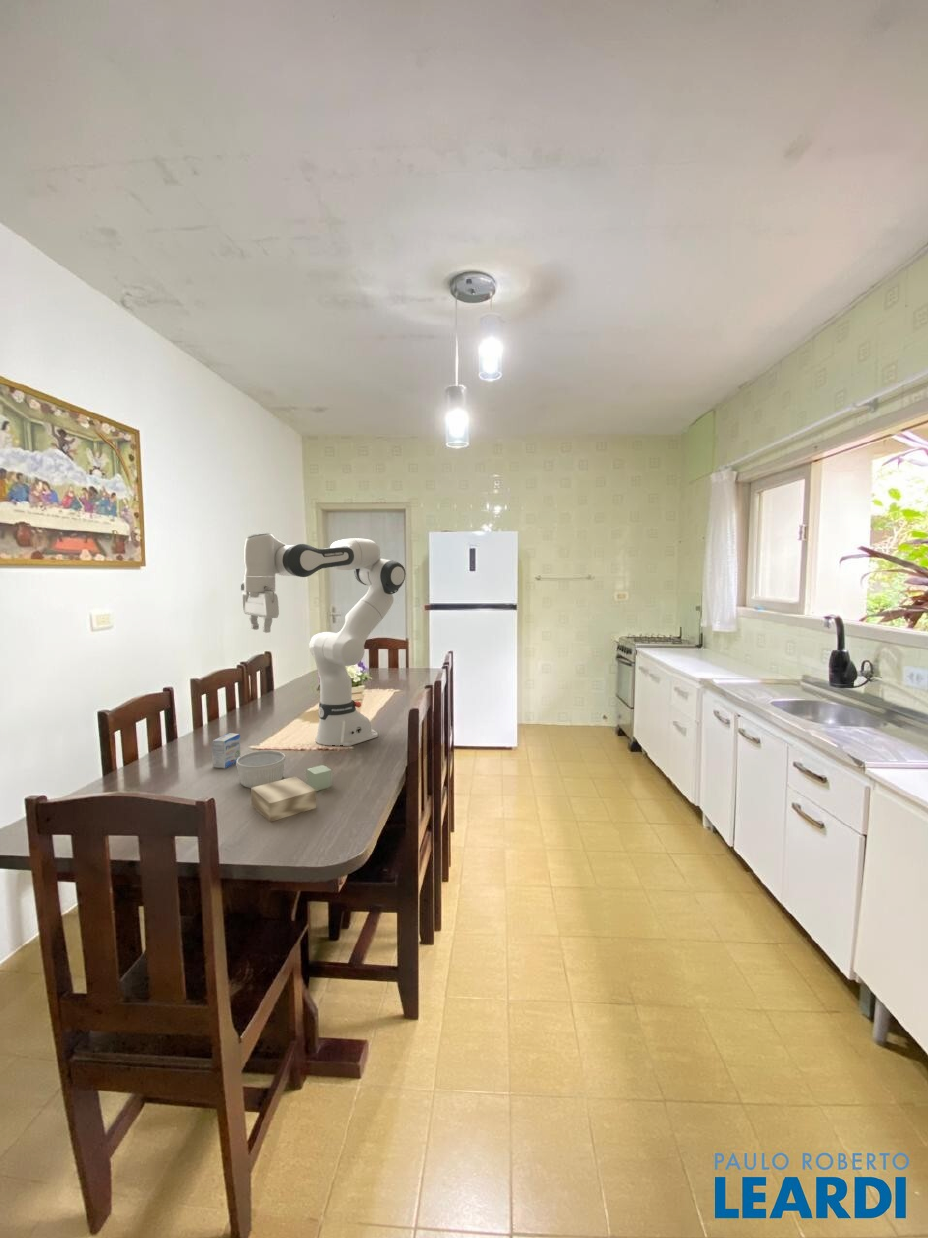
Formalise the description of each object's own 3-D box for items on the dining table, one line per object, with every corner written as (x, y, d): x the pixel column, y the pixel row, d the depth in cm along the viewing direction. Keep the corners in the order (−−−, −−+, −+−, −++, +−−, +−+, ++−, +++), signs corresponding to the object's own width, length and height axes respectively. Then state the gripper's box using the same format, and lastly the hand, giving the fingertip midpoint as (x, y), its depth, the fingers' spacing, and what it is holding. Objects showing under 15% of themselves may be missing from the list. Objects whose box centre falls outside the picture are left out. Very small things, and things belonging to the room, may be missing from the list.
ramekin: (255, 794, 140) (255, 769, 140) (226, 783, 147) (226, 759, 147) (294, 779, 152) (294, 756, 151) (266, 769, 159) (265, 747, 158)
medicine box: (224, 769, 158) (224, 741, 157) (211, 767, 159) (211, 740, 158) (240, 760, 166) (240, 733, 165) (228, 759, 166) (228, 732, 166)
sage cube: (322, 781, 150) (322, 764, 150) (331, 787, 147) (331, 769, 146) (306, 786, 147) (306, 769, 146) (315, 791, 143) (314, 774, 143)
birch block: (295, 794, 142) (295, 776, 142) (315, 809, 133) (315, 790, 133) (251, 806, 134) (251, 787, 134) (270, 823, 125) (269, 803, 125)
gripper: (284, 587, 153) (284, 633, 154) (258, 585, 168) (258, 627, 169) (262, 587, 149) (263, 634, 150) (238, 585, 164) (238, 628, 165)
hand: (260, 630), depth 160 cm, fingers open, 8 cm apart
